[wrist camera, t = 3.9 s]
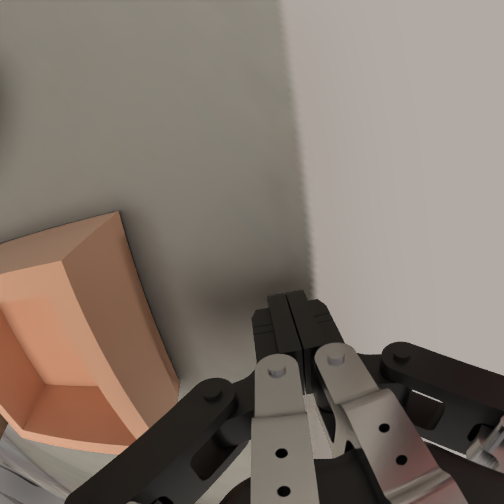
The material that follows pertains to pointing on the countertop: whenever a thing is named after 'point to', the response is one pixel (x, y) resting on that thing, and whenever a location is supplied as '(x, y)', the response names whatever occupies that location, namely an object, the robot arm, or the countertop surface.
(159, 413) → the terracotta holder
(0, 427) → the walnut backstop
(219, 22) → the countertop surface
